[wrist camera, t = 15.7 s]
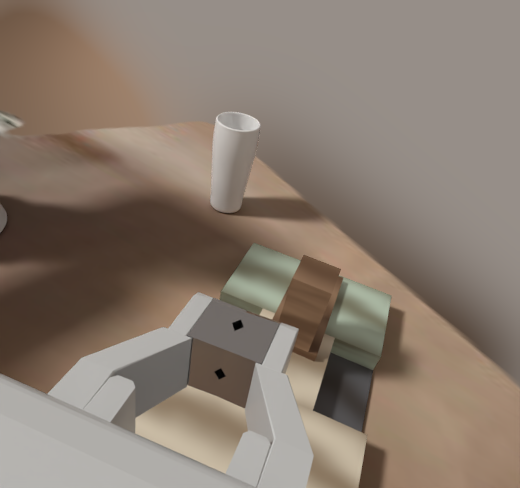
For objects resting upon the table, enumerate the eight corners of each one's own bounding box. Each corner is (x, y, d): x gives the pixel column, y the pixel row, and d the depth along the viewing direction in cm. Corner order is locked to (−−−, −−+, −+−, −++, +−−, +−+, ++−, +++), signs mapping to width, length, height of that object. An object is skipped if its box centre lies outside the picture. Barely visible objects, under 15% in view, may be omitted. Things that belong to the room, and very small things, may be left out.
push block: (314, 361, 46) (342, 297, 39) (263, 339, 47) (282, 274, 40) (341, 283, 56) (366, 223, 50) (299, 266, 57) (318, 206, 51)
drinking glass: (197, 199, 71) (206, 114, 62) (229, 191, 75) (243, 109, 65) (220, 221, 67) (233, 134, 58) (253, 211, 71) (270, 128, 62)
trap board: (333, 575, 33) (345, 564, 32) (116, 464, 37) (115, 448, 35) (383, 310, 58) (391, 295, 56) (250, 258, 62) (253, 242, 60)
